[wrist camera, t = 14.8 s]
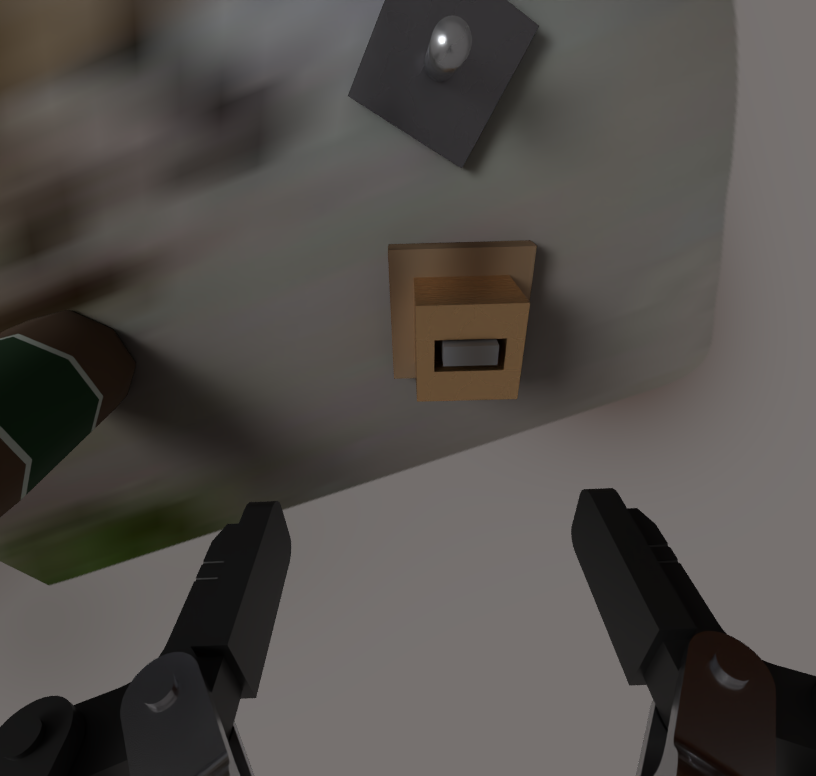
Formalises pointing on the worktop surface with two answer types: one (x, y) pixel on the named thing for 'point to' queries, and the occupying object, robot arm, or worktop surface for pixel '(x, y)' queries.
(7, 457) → the beer bottle
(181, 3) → the worktop surface
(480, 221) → the worktop surface
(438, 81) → the charcoal stand
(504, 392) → the brown slotted box
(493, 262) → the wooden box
